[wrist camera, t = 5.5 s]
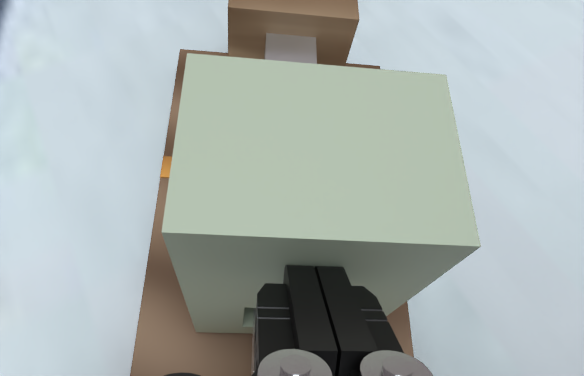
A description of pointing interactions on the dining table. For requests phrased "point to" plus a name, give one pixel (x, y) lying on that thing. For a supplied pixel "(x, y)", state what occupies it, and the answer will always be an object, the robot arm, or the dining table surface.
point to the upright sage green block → (311, 182)
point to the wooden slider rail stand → (160, 272)
